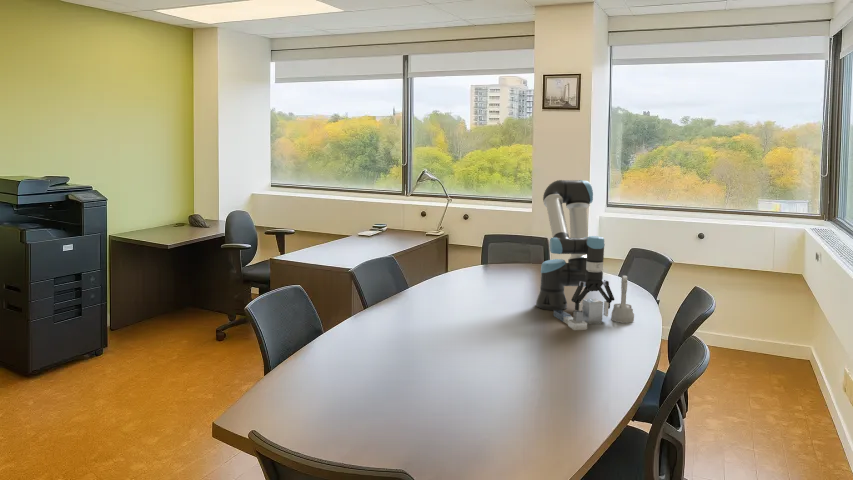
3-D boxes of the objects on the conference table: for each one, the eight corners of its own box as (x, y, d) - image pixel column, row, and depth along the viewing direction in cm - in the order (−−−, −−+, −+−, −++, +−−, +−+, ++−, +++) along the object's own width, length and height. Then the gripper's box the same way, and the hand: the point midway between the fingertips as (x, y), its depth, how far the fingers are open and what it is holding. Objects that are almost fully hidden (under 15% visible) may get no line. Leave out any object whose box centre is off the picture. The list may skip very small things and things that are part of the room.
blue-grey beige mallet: (551, 315, 309) (552, 300, 308) (563, 315, 310) (564, 299, 309) (574, 330, 286) (574, 313, 285) (586, 329, 287) (587, 312, 286)
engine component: (612, 321, 300) (634, 323, 298) (614, 277, 297) (637, 279, 295) (610, 315, 311) (632, 317, 309) (612, 273, 307) (634, 274, 305)
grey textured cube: (581, 320, 302) (582, 299, 301) (595, 319, 304) (596, 298, 302) (588, 324, 296) (589, 302, 294) (601, 323, 297) (603, 302, 296)
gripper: (572, 273, 290) (570, 319, 293) (623, 271, 295) (621, 317, 298) (565, 270, 297) (563, 315, 300) (615, 268, 303) (612, 313, 306)
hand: (592, 316), depth 299 cm, fingers open, 13 cm apart
